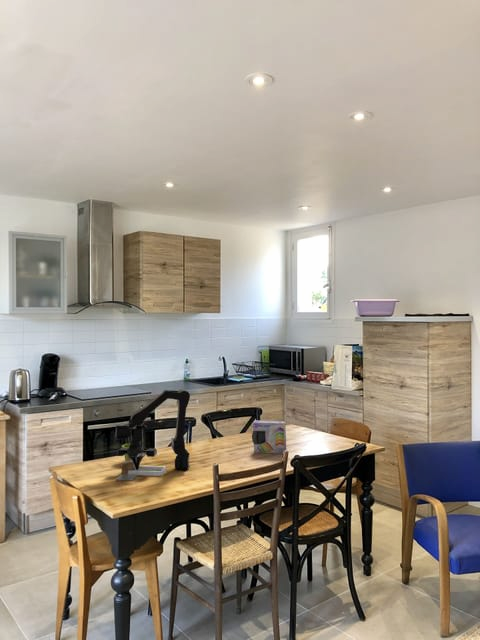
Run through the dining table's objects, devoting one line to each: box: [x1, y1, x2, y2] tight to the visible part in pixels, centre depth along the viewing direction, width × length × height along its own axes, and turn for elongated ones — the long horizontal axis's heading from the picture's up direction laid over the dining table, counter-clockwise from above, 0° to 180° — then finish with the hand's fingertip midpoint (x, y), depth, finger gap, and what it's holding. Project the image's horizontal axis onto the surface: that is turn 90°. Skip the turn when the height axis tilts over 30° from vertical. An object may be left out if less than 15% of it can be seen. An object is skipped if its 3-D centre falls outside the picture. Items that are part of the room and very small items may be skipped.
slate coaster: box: [115, 473, 139, 482], centre depth 246 cm, size 8×8×1 cm
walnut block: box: [121, 460, 135, 474], centre depth 256 cm, size 5×5×5 cm
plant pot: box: [121, 443, 133, 461], centre depth 275 cm, size 9×9×9 cm
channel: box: [128, 465, 167, 477], centre depth 255 cm, size 17×9×2 cm, turn 84°
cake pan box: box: [251, 419, 287, 455], centre depth 293 cm, size 19×5×18 cm, turn 73°
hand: (137, 469), depth 255 cm, fingers closed
